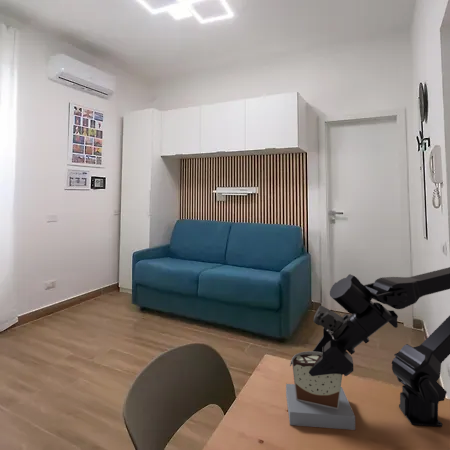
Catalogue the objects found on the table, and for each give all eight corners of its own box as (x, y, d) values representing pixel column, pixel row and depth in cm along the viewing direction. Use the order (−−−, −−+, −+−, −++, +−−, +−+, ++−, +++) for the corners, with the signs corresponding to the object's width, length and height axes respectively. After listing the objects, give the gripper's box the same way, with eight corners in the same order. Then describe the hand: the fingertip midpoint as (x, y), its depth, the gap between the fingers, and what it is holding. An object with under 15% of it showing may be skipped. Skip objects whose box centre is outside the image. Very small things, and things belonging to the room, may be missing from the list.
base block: (341, 398, 76) (341, 387, 75) (355, 429, 65) (355, 416, 65) (286, 395, 77) (286, 383, 77) (289, 424, 66) (289, 412, 66)
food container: (345, 395, 72) (345, 355, 72) (345, 411, 66) (345, 367, 66) (294, 384, 77) (294, 346, 76) (290, 398, 71) (289, 357, 71)
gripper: (334, 287, 77) (291, 324, 81) (335, 309, 60) (281, 355, 64) (367, 320, 75) (321, 356, 79) (379, 353, 57) (319, 397, 62)
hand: (311, 364), depth 71 cm, fingers open, 9 cm apart
